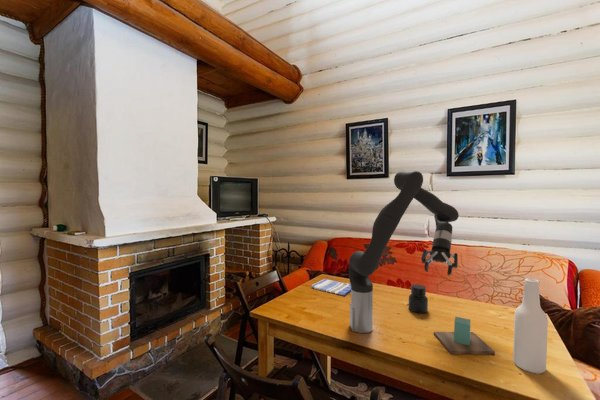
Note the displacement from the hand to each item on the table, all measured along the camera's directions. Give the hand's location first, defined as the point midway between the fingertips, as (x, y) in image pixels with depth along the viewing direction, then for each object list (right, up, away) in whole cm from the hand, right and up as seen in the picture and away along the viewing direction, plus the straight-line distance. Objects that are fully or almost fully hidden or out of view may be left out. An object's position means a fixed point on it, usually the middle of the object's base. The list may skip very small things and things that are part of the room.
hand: (437, 272), depth 123 cm
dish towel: (-38, -23, +52) cm, 68 cm away
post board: (+5, -25, -11) cm, 28 cm away
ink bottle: (0, -24, +20) cm, 32 cm away
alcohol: (+19, -26, -25) cm, 41 cm away
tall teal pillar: (+5, -24, -11) cm, 27 cm away
